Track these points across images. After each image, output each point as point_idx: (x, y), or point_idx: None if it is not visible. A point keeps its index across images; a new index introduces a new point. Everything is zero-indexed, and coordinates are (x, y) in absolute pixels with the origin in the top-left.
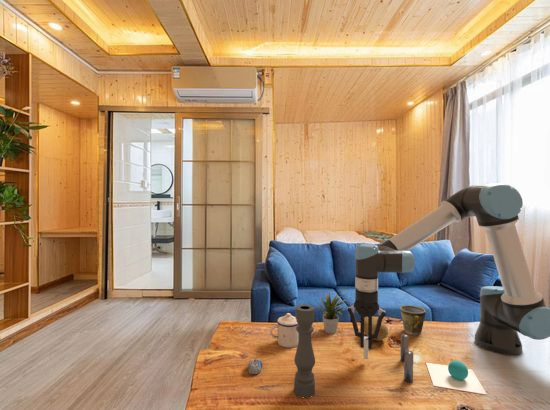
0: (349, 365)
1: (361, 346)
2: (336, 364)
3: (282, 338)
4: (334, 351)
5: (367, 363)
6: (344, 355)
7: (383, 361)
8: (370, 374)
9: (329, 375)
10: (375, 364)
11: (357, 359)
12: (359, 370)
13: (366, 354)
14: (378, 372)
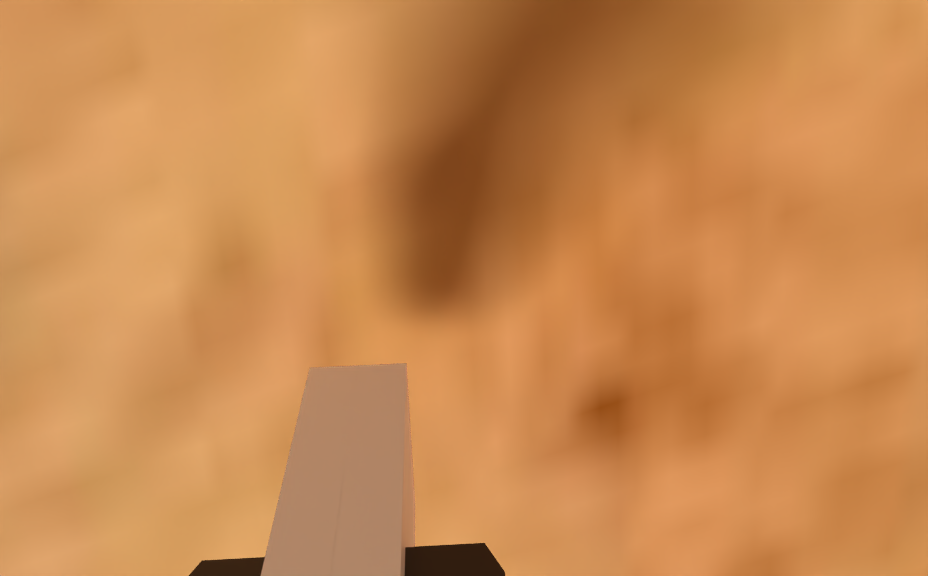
0: (670, 204)
1: (470, 564)
2: (923, 153)
3: None
4: (918, 557)
5: None
6: (753, 497)
7: (92, 531)
8: (242, 7)
9: None
10: (205, 398)
11: (528, 449)
12: (472, 86)
13: (337, 419)
14: (104, 143)
